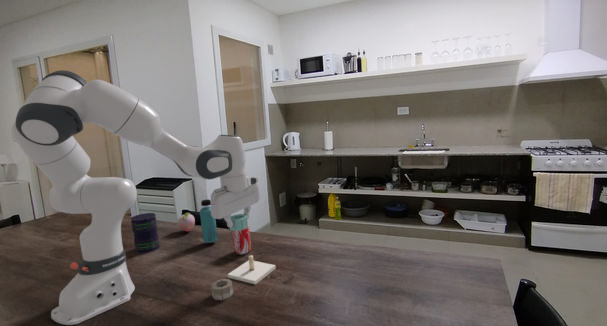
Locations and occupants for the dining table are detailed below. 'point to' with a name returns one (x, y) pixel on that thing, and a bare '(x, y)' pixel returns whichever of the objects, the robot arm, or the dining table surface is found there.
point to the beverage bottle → (208, 223)
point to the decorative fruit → (186, 222)
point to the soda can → (241, 241)
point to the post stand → (251, 271)
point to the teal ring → (239, 222)
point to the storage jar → (145, 233)
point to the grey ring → (222, 289)
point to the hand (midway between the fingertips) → (238, 222)
